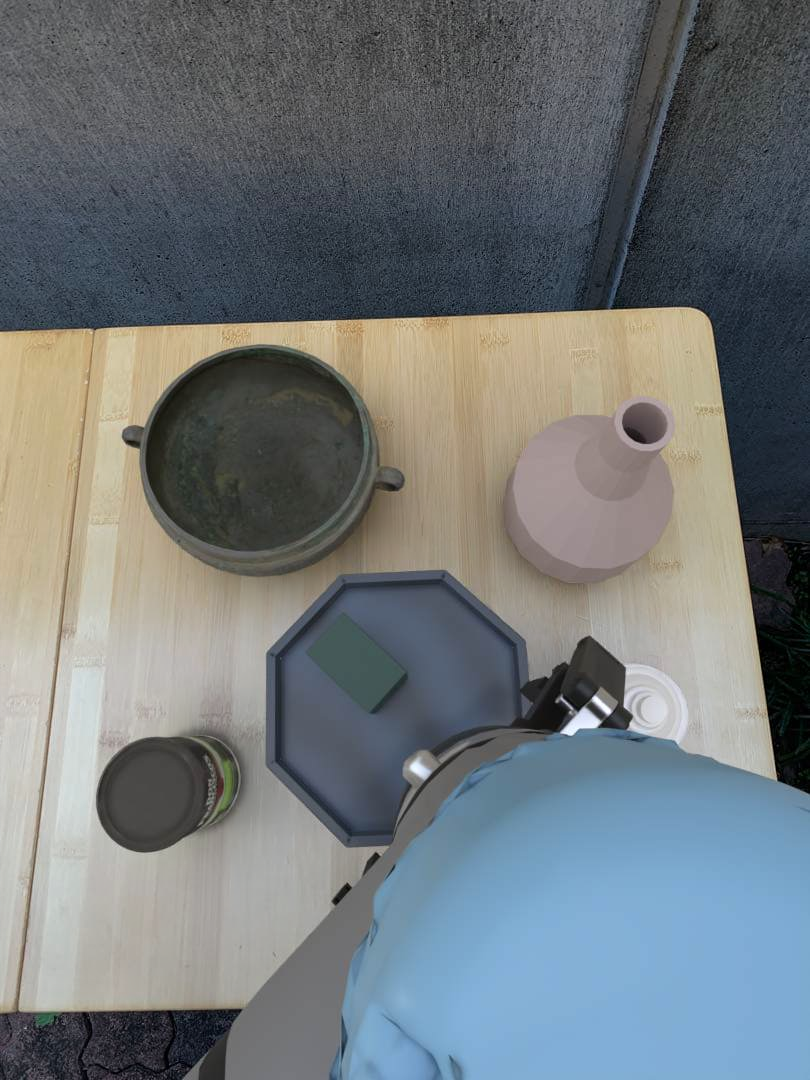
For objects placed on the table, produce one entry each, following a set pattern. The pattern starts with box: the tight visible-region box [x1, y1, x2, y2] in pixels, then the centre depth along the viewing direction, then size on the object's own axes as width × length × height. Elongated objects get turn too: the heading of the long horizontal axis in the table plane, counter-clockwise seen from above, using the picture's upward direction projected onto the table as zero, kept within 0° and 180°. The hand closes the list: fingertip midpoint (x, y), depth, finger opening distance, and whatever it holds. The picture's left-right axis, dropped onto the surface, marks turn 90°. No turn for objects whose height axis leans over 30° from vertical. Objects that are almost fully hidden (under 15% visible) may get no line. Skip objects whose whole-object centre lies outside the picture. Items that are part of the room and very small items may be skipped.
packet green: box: [305, 613, 408, 714], centre depth 52 cm, size 4×6×7 cm, turn 48°
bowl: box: [121, 343, 406, 578], centre depth 79 cm, size 32×26×15 cm
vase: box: [502, 395, 676, 584], centre depth 70 cm, size 18×18×30 cm
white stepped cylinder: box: [621, 661, 689, 746], centre depth 67 cm, size 12×11×25 cm
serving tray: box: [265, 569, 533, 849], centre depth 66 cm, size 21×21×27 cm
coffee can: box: [95, 734, 242, 854], centre depth 71 cm, size 10×10×14 cm
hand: (465, 785), depth 41 cm, fingers open, 13 cm apart
